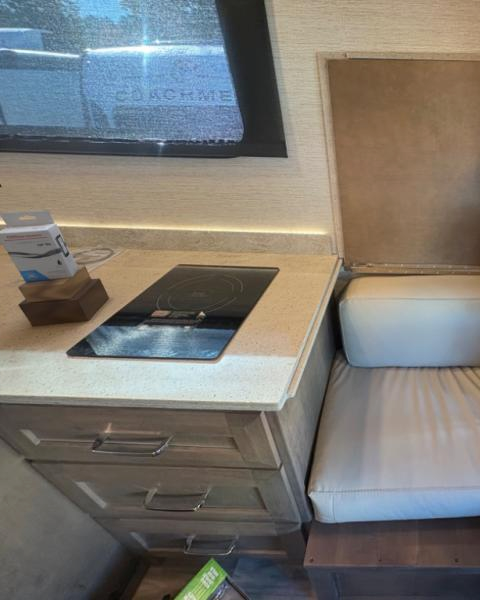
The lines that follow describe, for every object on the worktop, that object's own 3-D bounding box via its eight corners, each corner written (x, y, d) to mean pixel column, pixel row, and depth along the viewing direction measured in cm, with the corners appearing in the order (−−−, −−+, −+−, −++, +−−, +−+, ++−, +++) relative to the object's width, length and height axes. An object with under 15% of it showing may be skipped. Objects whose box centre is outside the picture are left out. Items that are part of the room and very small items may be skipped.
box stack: (32, 326, 77) (7, 289, 72) (59, 302, 86) (39, 267, 81) (88, 320, 80) (68, 284, 74) (109, 298, 89) (93, 264, 83)
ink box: (24, 283, 74) (-16, 219, 66) (34, 274, 78) (-3, 212, 70) (73, 277, 77) (40, 215, 70) (80, 268, 81) (49, 209, 74)
